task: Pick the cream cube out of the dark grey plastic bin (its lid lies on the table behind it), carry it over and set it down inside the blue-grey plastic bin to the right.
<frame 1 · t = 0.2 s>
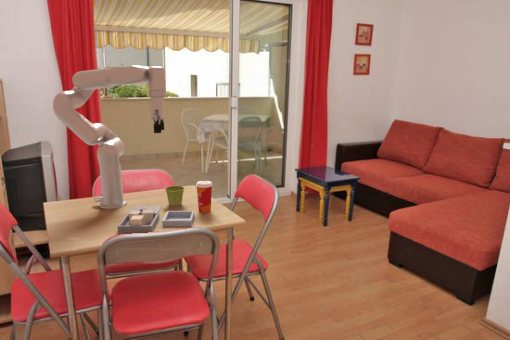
hand: (159, 131, 187), 36 cm above the table, tool pointing down, fingers open, 9 cm apart
stone b: (148, 221, 174), point 1 cm above the table, touching bin a
cream cube: (137, 227, 166), point 1 cm above the table, touching bin a
stone c: (135, 221, 173), point 1 cm above the table, touching bin a
plant pot: (175, 205, 197), on the table
paper cup: (204, 211, 189), on the table
bin a: (139, 225, 170), on the table
lid board: (143, 212, 185), on the table
bin b: (179, 222, 174), on the table
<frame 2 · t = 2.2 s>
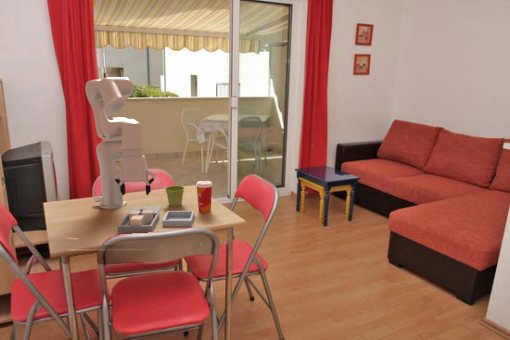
hand: (135, 194, 163), 15 cm above the table, tool pointing down, fingers open, 9 cm apart
nothing on the table moved.
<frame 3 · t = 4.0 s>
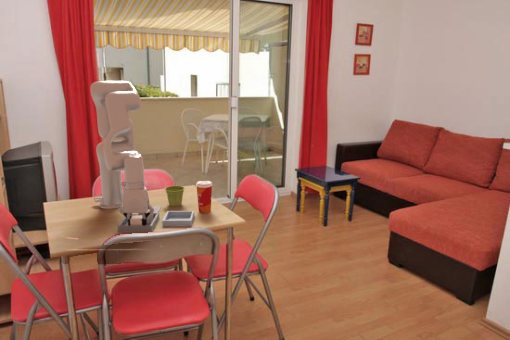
hand: (137, 226, 166), 1 cm above the table, tool pointing down, fingers closed on cream cube, 4 cm apart
cream cube: (137, 227, 166), point 1 cm above the table, touching bin a, gripper
everything else where it was.
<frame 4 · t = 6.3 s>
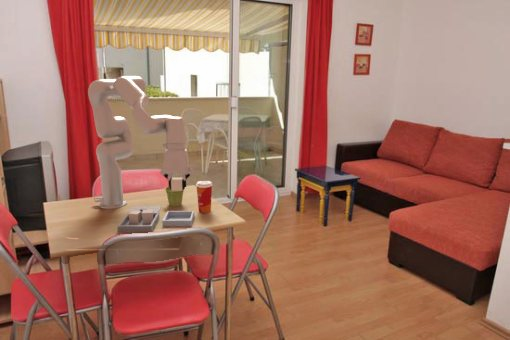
hand: (177, 188, 171), 15 cm above the table, tool pointing down, fingers closed on cream cube, 4 cm apart
cream cube: (177, 189, 171), point 15 cm above the table, touching gripper
everything else where it was.
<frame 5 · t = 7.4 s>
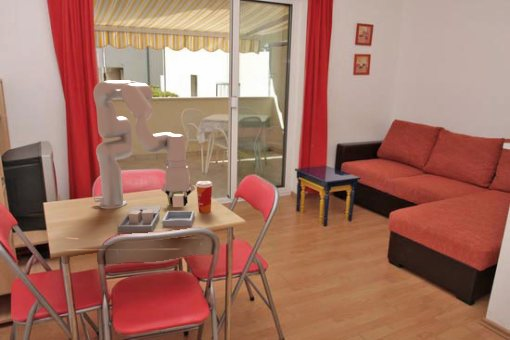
hand: (179, 204, 172), 8 cm above the table, tool pointing down, fingers closed on cream cube, 4 cm apart
cream cube: (179, 205, 172), point 8 cm above the table, touching gripper
everything else where it was.
when the fingers open (3 cm above the table, at t = 8.5 s): cream cube drops 2 cm, resting on bin b.
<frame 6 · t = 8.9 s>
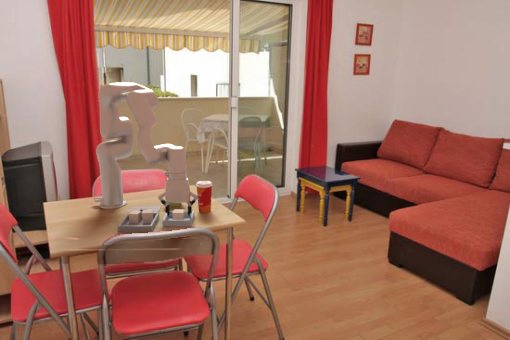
hand: (178, 214, 174), 4 cm above the table, tool pointing down, fingers open, 8 cm apart
cream cube: (179, 220, 174), point 1 cm above the table, touching bin b
everything else where it was.
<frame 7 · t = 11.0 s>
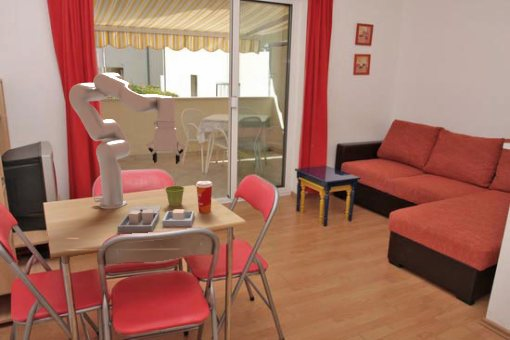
hand: (166, 162, 179), 24 cm above the table, tool pointing down, fingers open, 9 cm apart
nothing on the table moved.
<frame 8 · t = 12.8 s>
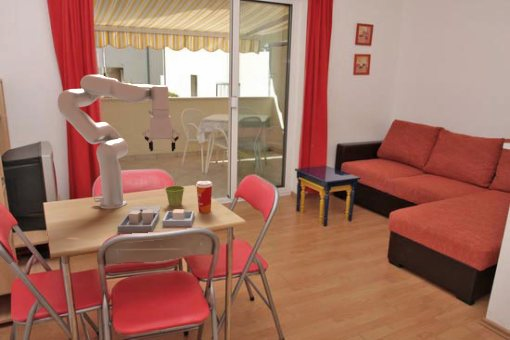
hand: (162, 150, 184), 28 cm above the table, tool pointing down, fingers open, 9 cm apart
nothing on the table moved.
at the end: cream cube inside the target area on the bin b (0.0 cm from its centre), point 0.6 cm above the bin b's base; the gripper is holding nothing; stone b moved 0.1 cm from its start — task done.
